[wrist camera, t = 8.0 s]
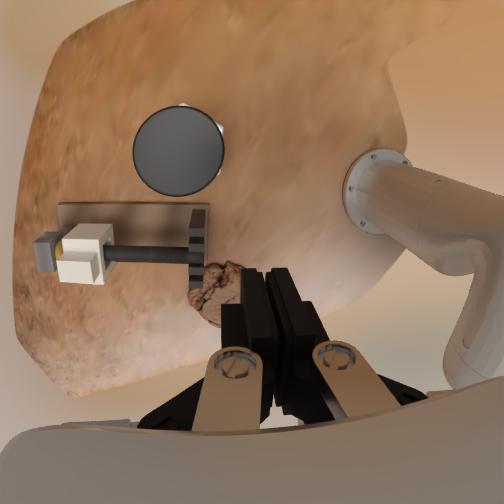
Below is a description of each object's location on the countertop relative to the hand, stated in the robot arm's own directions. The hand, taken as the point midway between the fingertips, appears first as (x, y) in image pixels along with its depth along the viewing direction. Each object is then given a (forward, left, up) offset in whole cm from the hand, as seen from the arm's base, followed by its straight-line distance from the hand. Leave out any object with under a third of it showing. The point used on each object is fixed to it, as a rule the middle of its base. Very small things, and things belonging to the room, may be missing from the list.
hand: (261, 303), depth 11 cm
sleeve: (+15, +8, -24) cm, 30 cm away
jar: (+5, -4, -29) cm, 30 cm away
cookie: (-1, +17, -30) cm, 34 cm away
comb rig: (+12, +8, -29) cm, 32 cm away
